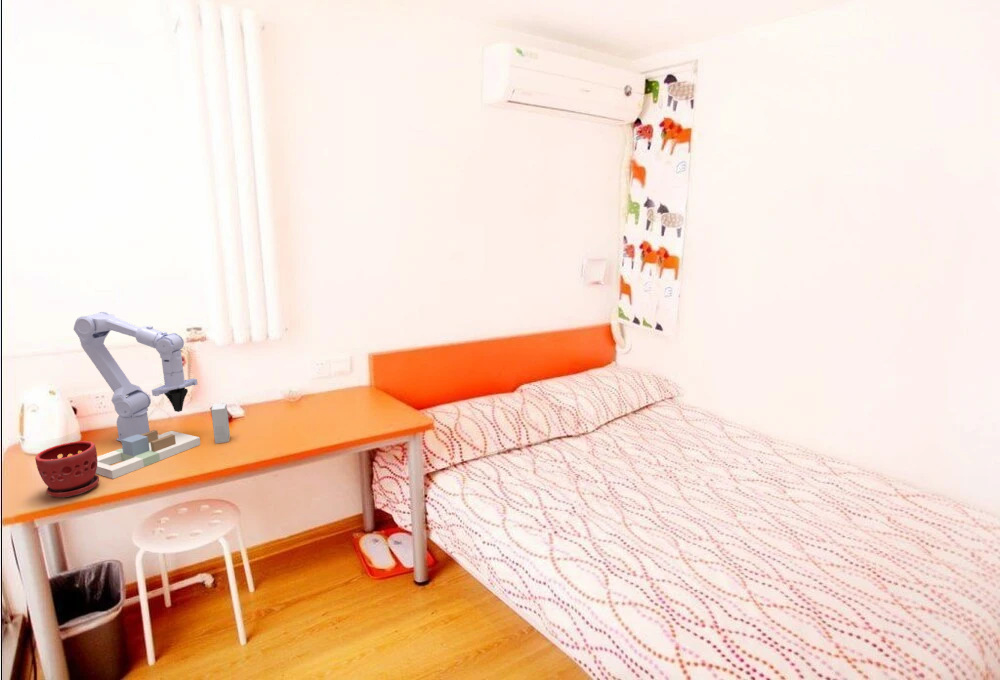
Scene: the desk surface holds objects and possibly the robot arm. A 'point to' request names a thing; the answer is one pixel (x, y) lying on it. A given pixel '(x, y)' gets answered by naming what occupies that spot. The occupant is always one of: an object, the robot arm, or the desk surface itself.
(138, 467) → the deck
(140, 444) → the block
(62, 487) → the plant pot
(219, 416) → the skincare box
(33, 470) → the desk surface
